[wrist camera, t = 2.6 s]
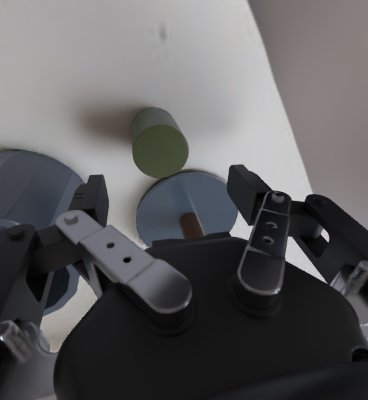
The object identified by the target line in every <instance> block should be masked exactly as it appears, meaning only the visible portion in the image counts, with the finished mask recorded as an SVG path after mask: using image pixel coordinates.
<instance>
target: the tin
mask: <svg viewBox="0 0 368 400" xmlns="http://www.w3.org/2000/svg"><path fill="white" fill-rule="evenodd" d="M132 153H133V159H134V162H135V164H136V166H137V167H138V168H139V169H140V170H141V171H142V172H143V173H145V174H146V175H148V176H151V177H155V178H165V177H169V176H172V175H174V174H176V173H177V172H178V171H180V170H181V169H182V167H183V166H184V165H185V163H186V161H187V158H188V154H189V148H188V143H187V140H186V138H185V137H184V135H183V133H182V132H181V130H180V128H179V127H178V125H177V124H176V122H175V120H174V119H173V117H172V116H171V115H170V114H169V113H168V112H166V111H165V110H163V109H159V108H148V109H145V110H143V111H142V112H140V113H139V114H138V115H137V116H136V117H135V119H134V121H133V124H132Z"/></svg>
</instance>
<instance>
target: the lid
mask: <svg viewBox="0 0 368 400" xmlns="http://www.w3.org/2000/svg"><path fill="white" fill-rule="evenodd" d="M237 215H238V209H237V207H236V206H235V204H234V203H233V201H232V200H231V198H230V197H229V195H228V193H227V183H226V182H225V181H223V180H222V179H220V178H218V177H216V176H214V175H211V174H208V173H202V172H187V173H182V174H178V175H174V176H172V177H169V178H167V179H165V180H163V181H161V182H160V183H158V184H157V185H156V186H154V187H153V188H152V189H151V190H150V191H149V192H148V193H147V194H146V195H145V197H144V198H143V200H142V201H141V203H140V205H139V208H138V211H137V216H136V224H137V230H138V233H139V235H140V238H141V239H142V240H143V242H144V243H145V244H146V245H147V246H148V247H152V241H155V240H162V239H170V238H174V239H196V238H198V237H201V236H204V235H207V234H210V233H218V232H226V231H229V232H230V231H231V229H232V228H233V226H234V224H235V222H236V219H237Z"/></svg>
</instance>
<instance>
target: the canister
mask: <svg viewBox="0 0 368 400" xmlns="http://www.w3.org/2000/svg"><path fill="white" fill-rule="evenodd" d="M81 184H85V183H84V182H83V180H82V179H81V178H80V177H79V176H78V175H77V174H76V173H75V172H74V171H73V170H71V169H70V168H69V167H67V166H66V165H64V164H62V163H61V162H59V161H57V160H55V159H53V158H50V157H48V156H45V155H42V154H38V153H34V152H28V151H19V150H9V151H0V235H1V234H2V233H3V232H4V231H5V230H7V229H9V228H11V227H13V226H16V225H20V224H31V225H34V226H35V228H36V230H39V229H43V228H46V227H49V226H52V225H55V221H56V219H57V218H58V217H59V216H60V215H61V214H63V213H65V212H67V211H68V208H69V206H70V203H71V200H72V198H73V195H74V193H75V190H76V188H78V187H79V186H80V185H81ZM79 277H80V274H79V273H78V272H77V270H76V269H75V268H74V267H73V266H72V264H71V265H68V266H65V267H63V268H60V269H57V270H55V271H54V274H53V278H52V282H51V286H50V290H49V294H48V297H47V301H46V305H45V309H44V313H43V316H45V315H48V314H50V313H52V312H54V311H56V310H58V309H60V308H62V307H63V306H64V305H65V304H66V303H67V302H68V301H69V300H70V299H71V297H72V296H73V295H74V294H75V293H76V291H77V286H78V281H79Z"/></svg>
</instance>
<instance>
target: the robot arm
mask: <svg viewBox="0 0 368 400" xmlns="http://www.w3.org/2000/svg"><path fill="white" fill-rule="evenodd" d="M227 193H228V195H229V197H230V198H231V200H232V201H233V203H234V204H235V206H236V207H237V209H238V210H239V212H240V213H241V215H242V216H243V218H244V219H245V221H246V222H247V224H248V225H249V226H252V225H254V226H253V229H252V232H251V235H250V238H249V240H245V239H242V238H238V237H231V235H230V233H229V231H226V232H218V233H210V234H207V235H204V236H201V237H198V238H196V239H174V238H170V239H162V240H155V241H152V247H150V248H148V249H145V250H143V249H141V248H140V247H139V246H138V245H136V244H135V243H134V242H132V241H131V240H130V239H128V238H127V237H126V236H125V235H123V234H122V233H121V232H119V231H118V230H117V229H116V228H114V227H113V226H111V225H107V226H106V224H107V216H108V209H109V199H108V194H107V189H106V184H105V179H104V176H103V174H102V175H90V176H89V179H88V182H87V184H81V185H80V186H79V187H78V188H76V190H75V193H74V195H73V198H72V200H71V203H70V206H69V208H68V211H67V212H65V213H63V214H61V215H60V216H59V217H58V218H57V219H56V221H55V225H52V226H49V227H46V228H43V229H39V230H36V228H35V226H34V225H31V224H20V225H16V226H13V227H11V228H9V229H7V230H5V231H4V232H3V233H2V234H1V235H0V400H368V342H367V340H366V338H365V337H368V230H367V229H365V228H364V227H363V226H362V225H360V224H359V223H358V222H357V221H356V220H355V219H353V218H352V217H351V216H350V215H348V214H347V213H346V212H345V211H344V210H342V209H341V208H340V207H339V206H338V205H336V204H335V203H334V202H333V201H331V200H330V199H329V198H327V197H324V196H321V195H317V194H310V195H308V196H307V197H306V199H305V202H301V201H292V199H291V197H290V196H289V195H287V194H286V193H283V192H280V191H273V190H272V189H271V188H270V187H269V186H268V185H267V184H266V183H265V182H264V181H263V180H262V179H261V178H260V177H259V176H258V175H257V174H255V173H253V172H251V171H248V169H247V168H246V167H245V166H244V165H242V164H240V165H231V166H230V168H229V175H228V182H227ZM323 228H324V229H325V230H326V231H327V233H328V234H329V242H327V241H326V240H325V239H324V238H323V237H322V235H321V232H322V230H323ZM288 236H289V237H293V239H294V240H295V241H296V243H297V244H298V245H299V247H300V248H301V249H302V251H303V252H304V253H305V254H306V256H307V257H308V258H309V260H310V261H311V262H312V264H313V265H314V266H315V268H316V269H317V270H318V271H319V273H320V274H321V275H322V277H323V278H324V279H325V281H326V282H327V283H328V284H327V283H325V282H323V281H321V280H319V279H318V278H316V277H314V276H312V275H310V274H309V273H307V272H305V271H303V270H301V269H299V268H298V267H296V266H294V265H292V264H290V263H289V262H287V261H285V253H286V246H287V239H288ZM71 264H72V266H73V267H74V268H75V269H76V270H77V272H78V273H79V274H80V275H81V276H82V277H83V278H84V279H85V281H86V282H87V283H88V284H89V285H90V286H91V288H92V289H93V291H94V293H95V295H96V296H97V298H98V300H97V301H96V303H95V304H94V305H93V306H92V307H91V308H90V310H89V311H88V312H87V313H86V314H85V316H84V317H83V318H82V319H81V320H80V321H79V323H78V324H77V325H76V326H75V327H74V329H73V330H72V331H71V332H70V333H69V335H68V336H67V337H66V339H65V340H64V342H63V344H62V346H61V348H60V350H59V352H58V353H50V344H49V341H48V340H47V338H46V337H45V335H44V334H43V332H42V331H41V329H40V324H41V321H42V317H43V313H44V309H45V305H46V301H47V297H48V294H49V290H50V286H51V282H52V278H53V274H54V271H55V270H57V269H60V268H63V267H65V266H68V265H71Z"/></svg>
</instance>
